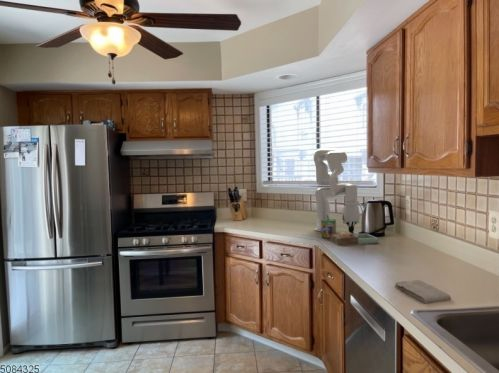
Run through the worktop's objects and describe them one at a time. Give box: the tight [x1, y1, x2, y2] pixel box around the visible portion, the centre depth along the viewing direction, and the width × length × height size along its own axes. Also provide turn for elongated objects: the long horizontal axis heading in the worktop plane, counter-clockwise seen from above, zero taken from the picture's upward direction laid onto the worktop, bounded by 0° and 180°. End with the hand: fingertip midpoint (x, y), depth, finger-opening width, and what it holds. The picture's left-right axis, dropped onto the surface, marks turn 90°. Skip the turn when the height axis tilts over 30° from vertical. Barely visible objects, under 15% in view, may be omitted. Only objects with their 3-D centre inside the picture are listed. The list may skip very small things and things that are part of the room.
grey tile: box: [350, 231, 359, 237], centre depth 220 cm, size 4×4×2 cm
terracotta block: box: [338, 231, 350, 238], centre depth 213 cm, size 4×4×2 cm
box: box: [357, 233, 379, 245], centre depth 218 cm, size 15×13×3 cm
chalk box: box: [321, 215, 337, 239], centre depth 233 cm, size 9×9×15 cm
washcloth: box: [394, 279, 452, 304], centre depth 131 cm, size 12×18×3 cm, turn 13°
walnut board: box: [329, 233, 359, 246], centre depth 216 cm, size 15×12×4 cm
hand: (351, 232), depth 220 cm, fingers closed
